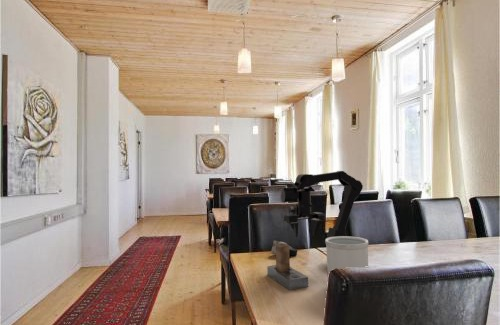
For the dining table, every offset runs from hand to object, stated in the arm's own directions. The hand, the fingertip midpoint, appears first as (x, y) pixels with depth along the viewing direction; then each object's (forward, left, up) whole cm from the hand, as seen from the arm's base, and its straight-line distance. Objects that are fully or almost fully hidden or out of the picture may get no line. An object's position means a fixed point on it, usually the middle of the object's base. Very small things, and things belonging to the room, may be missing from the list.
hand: (305, 236), depth 137 cm
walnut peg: (+5, +19, -13) cm, 24 cm away
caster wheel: (+13, -14, -13) cm, 24 cm away
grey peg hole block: (+3, +21, -13) cm, 25 cm away
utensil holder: (-20, +22, -13) cm, 33 cm away
